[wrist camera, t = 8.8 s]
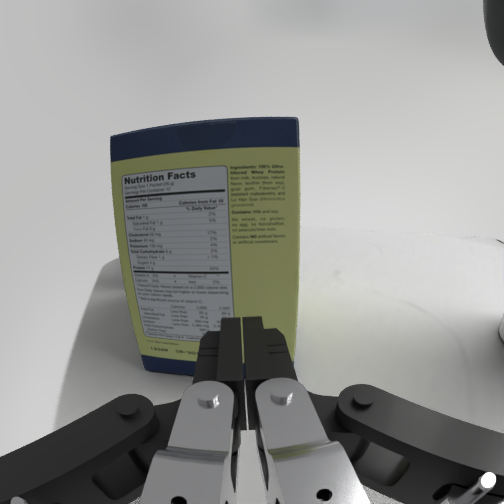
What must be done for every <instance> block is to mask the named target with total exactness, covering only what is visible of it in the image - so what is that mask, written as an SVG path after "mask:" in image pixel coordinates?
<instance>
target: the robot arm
mask: <svg viewBox="0 0 504 504" xmlns="http://www.w3.org/2000/svg"><path fill="white" fill-rule="evenodd" d="M483 12H484V21H485V28H486V33H487V37H488V41H489V44H490V47H491V49H492V50H493V53H494V55H495V56H496V58H497V59H498V60H499V62H500V63H502V65H504V0H483ZM242 323H243V344H244V363H245V379H246V395H247V410H248V424H249V430H256V443H257V453H258V458H259V463H260V468H261V473H262V478H263V482H264V487H265V492H266V497H267V504H370V502H369V500H368V498H367V495H366V493H365V491H364V489H363V487H362V485H364V486H366V487H368V488H370V489H373V490H375V491H377V492H379V493H381V494H383V495H385V496H388V497H390V498H392V499H394V500H397V501H399V502H401V503H404V504H504V434H503V433H500V432H496V431H493V430H489V429H486V428H483V427H480V426H476V425H473V424H470V423H467V422H464V421H461V420H458V419H455V418H452V417H450V416H447V415H444V414H441V413H438V412H436V411H433V410H430V409H428V408H425V407H422V406H420V405H417V404H415V403H412V402H410V401H407V400H405V399H402V398H400V397H397V396H395V395H393V394H390V393H388V392H386V391H383V390H381V389H379V388H376V387H374V386H371V385H366V384H357V385H352V386H349V387H347V388H345V389H344V390H343V391H342V392H341V393H340V395H339V397H333V396H322V395H317V394H313V393H311V392H309V391H307V390H306V388H305V387H304V386H303V385H302V384H301V383H300V382H298V379H297V376H296V373H295V369H294V366H293V363H292V359H291V356H290V353H289V349H288V346H287V343H286V339H285V336H284V334H282V333H281V332H280V331H279V330H278V329H277V328H269V329H264V326H263V321H262V316H252V317H242ZM499 333H500V336H501V338H502V340H503V341H504V315H503V318H502V321H501V324H500V327H499ZM240 430H247V425H246V409H245V392H244V375H243V356H242V337H241V318H240V317H230V318H221V326H220V331H207V332H206V333H205V334H204V336H203V337H202V338H201V339H200V345H199V350H198V357H197V361H196V367H195V373H194V379H193V384H192V385H191V386H190V387H188V388H187V389H186V390H185V392H184V393H183V396H182V399H180V400H178V401H175V402H172V403H167V404H161V405H155V406H153V404H152V402H151V401H150V400H149V399H148V398H146V397H144V396H142V395H138V394H126V395H122V396H119V397H117V398H115V399H114V400H112V401H110V402H108V403H107V404H105V405H103V406H101V407H99V408H98V409H96V410H94V411H92V412H90V413H89V414H87V415H85V416H83V417H81V418H79V419H77V420H76V421H74V422H72V423H70V424H68V425H66V426H64V427H62V428H60V429H58V430H56V431H54V432H52V433H50V434H48V435H46V436H44V437H42V438H40V439H39V440H36V441H34V442H32V443H30V444H28V445H26V446H24V447H21V448H19V449H17V450H15V451H13V452H10V453H8V454H6V455H4V456H1V457H0V504H129V503H131V502H132V501H134V500H135V499H137V498H138V497H140V496H141V498H140V502H139V504H237V486H238V469H239V453H240V449H239V447H240V444H241V433H240ZM361 484H362V485H361Z"/></svg>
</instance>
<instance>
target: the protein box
mask: <svg viewBox="0 0 504 504" xmlns="http://www.w3.org/2000/svg"><path fill="white" fill-rule="evenodd" d="M110 138H111V139H110V155H111V182H112V196H113V206H114V217H115V227H116V235H117V242H118V249H119V257H120V263H121V269H122V275H123V281H124V286H125V292H126V297H127V302H128V306H129V311H130V315H131V319H132V324H133V328H134V332H135V335H136V339H137V343H138V347H139V350H140V354H141V357H142V361H143V364H144V368H145V370H148V371H156V372H164V373H173V374H183V375H194V373H195V367H196V361H197V357H198V350H199V345H200V339H201V338H202V337H203V336H204V334H205V333H206V332H207V331H220V326H221V318H230V317H240V318H241V337H242V356H243V375H244V378H245V363H244V344H243V323H242V317H252V316H262V321H263V326H264V329H269V328H277V329H278V330H279V331H280V332H281V333H282V334H284V336H285V339H286V343H287V346H288V349H289V353H290V356H291V359H292V363H293V366H294V355H295V342H296V327H297V311H298V291H299V252H300V147H299V146H300V144H299V121H298V118H296V117H248V118H228V119H215V120H204V121H193V122H185V123H178V124H171V125H164V126H158V127H152V128H146V129H141V130H136V131H131V132H126V133H122V134H118V135H113V136H111V137H110Z"/></svg>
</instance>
